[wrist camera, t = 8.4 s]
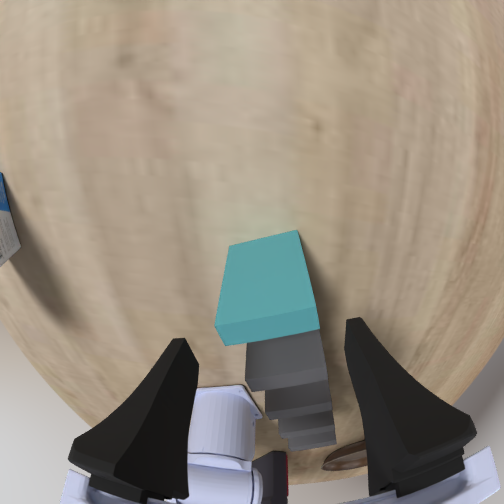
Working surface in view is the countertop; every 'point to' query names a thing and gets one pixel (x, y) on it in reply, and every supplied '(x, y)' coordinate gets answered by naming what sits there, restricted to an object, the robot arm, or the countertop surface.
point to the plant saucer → (347, 458)
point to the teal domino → (265, 291)
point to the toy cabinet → (273, 477)
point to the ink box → (6, 228)
